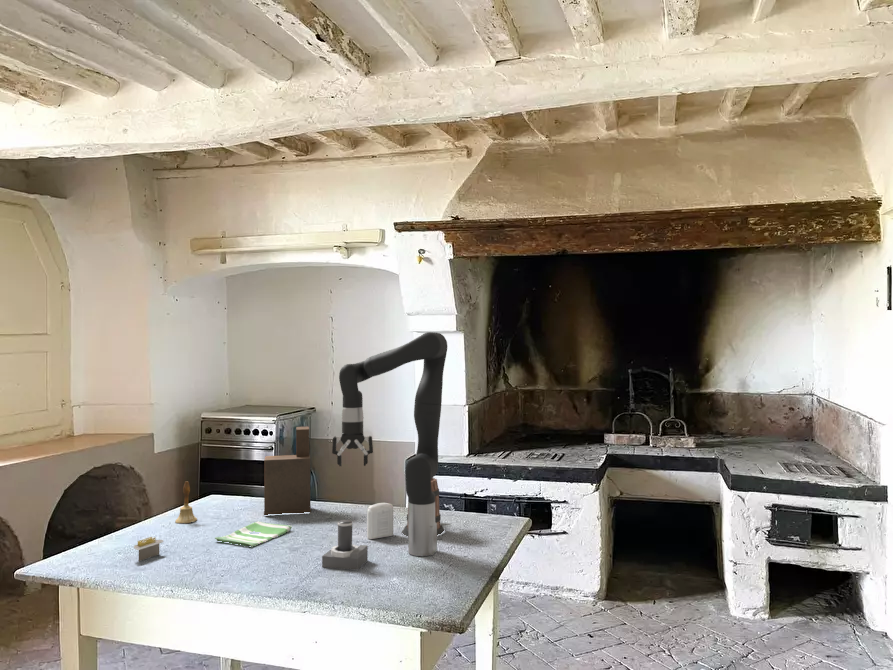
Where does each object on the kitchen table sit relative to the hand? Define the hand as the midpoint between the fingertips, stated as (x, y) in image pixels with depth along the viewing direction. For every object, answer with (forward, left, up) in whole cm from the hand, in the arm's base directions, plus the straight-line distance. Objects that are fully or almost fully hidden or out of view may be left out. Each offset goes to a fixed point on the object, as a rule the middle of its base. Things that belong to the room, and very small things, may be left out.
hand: (352, 465), depth 231 cm
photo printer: (-6, -12, -28) cm, 31 cm away
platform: (+62, +28, -29) cm, 74 cm away
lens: (-5, +19, -25) cm, 31 cm away
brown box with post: (+44, -38, -28) cm, 65 cm away
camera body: (-5, +19, -28) cm, 34 cm away
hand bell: (+78, -15, -28) cm, 84 cm away
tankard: (-20, -25, -28) cm, 43 cm away
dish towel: (+40, -2, -29) cm, 49 cm away
